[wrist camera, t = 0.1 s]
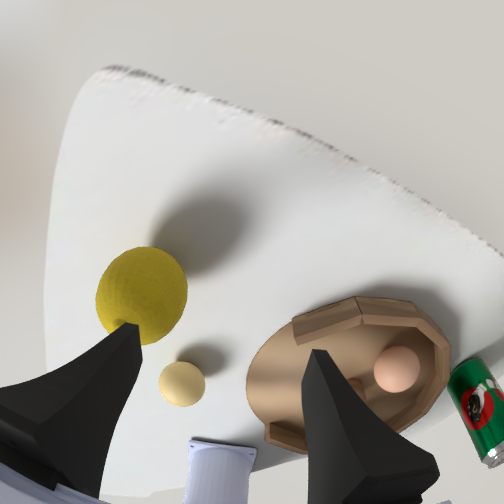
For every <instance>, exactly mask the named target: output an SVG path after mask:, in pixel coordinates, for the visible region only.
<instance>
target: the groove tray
mask: <svg viewBox="0 0 504 504" xmlns="http://www.w3.org/2000/svg"><path fill="white" fill-rule="evenodd" d="M393 346H405V347H408V348H410V349H411V350H413V351H414V352H415V354H416V355H417V357H418V359H419V363H420V372H419V375H418V378H417V380H416V381H415V383H414V384H413V385H412V386H411V387H410V388H408V389H406V390H404V391H402V392H396V393H393V392H388V391H386V390H384V389H382V388H381V387H380V386H379V385H378V383H377V382H376V380H375V376H374V366H375V363H376V360H377V358H378V357H379V355H380V354H381V353H382V352H383V351H385V350H386V349H388V348H390V347H393ZM312 349H321V350H327V351H328V353H329V354H330V356H331V357H332V359H333V361H334V362H335V364H336V365H337V367H338V368H339V370H340V371H341V373H342V374H343V375H344V377H345V378H346V380H347V381H348V382H349V384H350V385H351V387H352V388H353V389H354V391H355V392H356V393H357V394H358V396H359V397H360V398H361V399H362V400H363V402H364V403H365V404H366V405H367V406H368V407H369V408H370V409H371V410H372V411H373V412H374V413H375V414H376V415H377V416H378V417H379V418H380V419H381V420H382V421H383V422H384V423H386V424H387V425H388V426H389V427H391V428H392V429H393V430H394V431H395V432H397V433H398V434H399V433H400V432H402V431H403V430H405V429H406V428H408V427H409V426H411V425H412V424H413V423H415V422H416V421H418V420H419V419H420V418H422V417H423V416H424V415H426V414H427V412H428V411H429V410H430V408H431V407H432V406H433V404H434V403H435V401H436V400H437V398H438V397H439V395H440V394H441V392H442V391H443V389H444V388H445V386H446V385H447V383H448V382H449V378H450V352H451V345H450V343H449V342H448V340H447V339H446V337H445V336H444V334H443V333H442V331H441V330H440V329H439V328H438V327H437V326H436V325H435V324H434V323H433V321H432V320H431V319H430V318H429V317H428V316H427V315H426V314H425V313H424V312H422V311H421V310H420V309H418V308H417V307H416V306H415V305H414V304H413V303H412V302H410V301H398V300H393V299H387V298H366V297H356V296H355V297H351V298H348V299H346V300H343V301H340V302H337V303H333V304H330V305H327V306H323V307H321V308H318V309H316V310H313V311H311V312H309V313H306V314H304V315H301V316H298V317H295V318H292V322H290V323H289V324H287V325H286V326H284V327H283V328H281V329H280V330H279V331H277V332H276V333H275V334H274V335H273V336H272V337H270V338H269V339H268V340H267V341H266V343H265V344H264V345H263V346H262V347H261V348H260V349H259V351H258V352H257V354H256V355H255V357H254V358H253V361H252V363H251V365H250V367H249V370H248V374H247V378H246V395H247V400H248V403H249V405H250V407H251V409H252V411H253V412H254V414H255V415H256V416H257V417H258V418H259V419H260V420H261V421H262V422H263V423H264V424H265V442H268V443H271V444H273V445H276V446H279V447H282V448H284V449H287V450H290V451H293V452H296V453H299V454H308V445H307V438H306V431H305V424H304V418H303V410H302V402H301V382H302V379H303V376H304V373H305V370H306V367H307V364H308V360H309V357H310V354H311V351H312Z"/></svg>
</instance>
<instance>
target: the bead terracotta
mask: <svg viewBox="0 0 504 504" xmlns="http://www.w3.org/2000/svg"><path fill="white" fill-rule="evenodd" d="M419 372H420V363H419V359H418V357H417V355H416V354H415V352H414V351H413V350H411V349H410V348H408V347H405V346H393V347H390V348H388V349H386V350H385V351H383V352H382V353H381V354H380V355H379V357H378V358H377V360H376V363H375V366H374V376H375V380H376V382H377V383H378V385H379V386H380V387H381V388H382V389H384V390H386V391H388V392H393V393H396V392H402V391H404V390H406V389H408V388H410V387H411V386H412V385H413V384H414V383H415V381H416V380H417V378H418V375H419Z"/></svg>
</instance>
